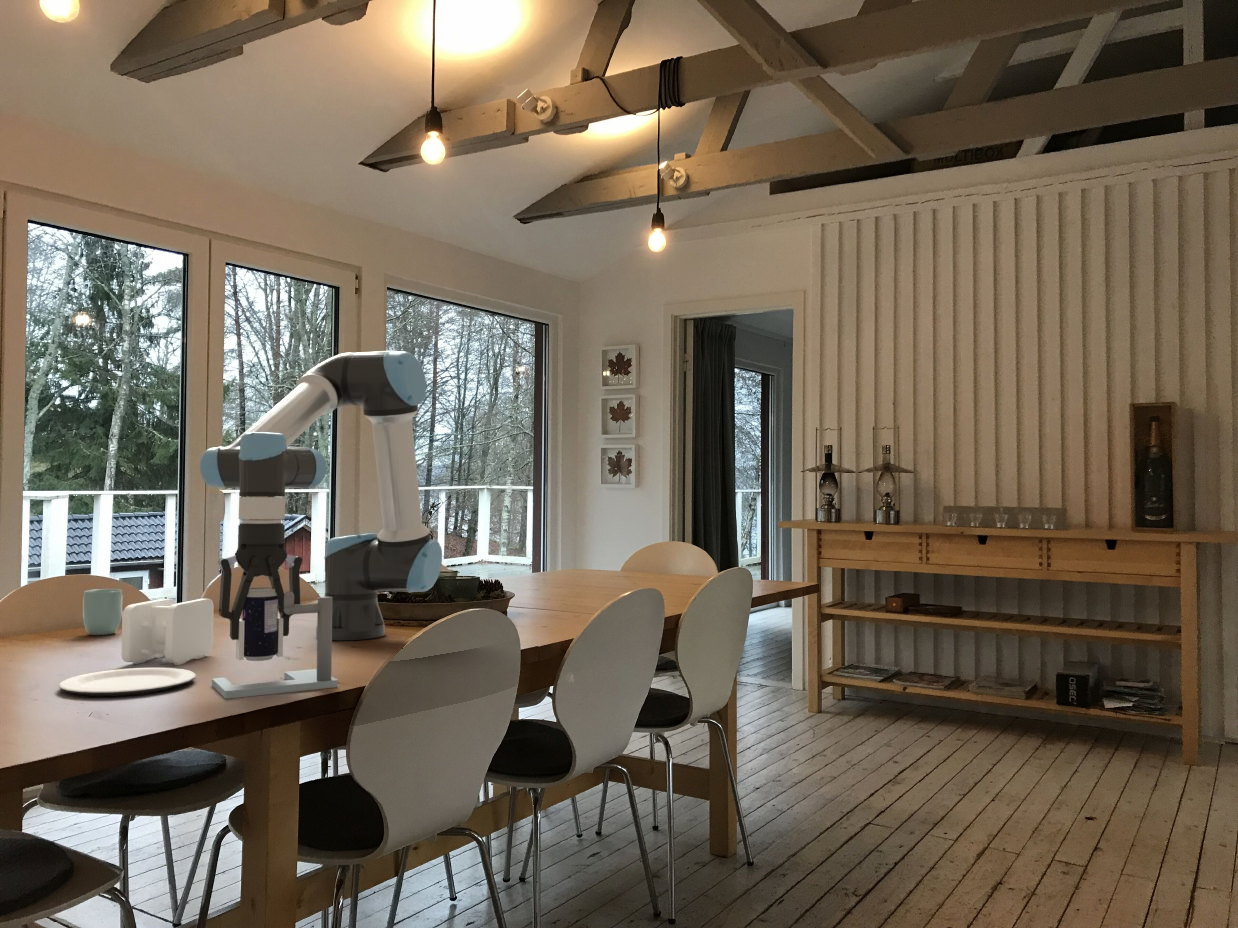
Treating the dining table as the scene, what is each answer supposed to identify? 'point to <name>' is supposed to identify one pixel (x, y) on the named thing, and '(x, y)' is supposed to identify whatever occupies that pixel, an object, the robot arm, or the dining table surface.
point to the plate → (127, 681)
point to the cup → (102, 611)
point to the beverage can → (260, 624)
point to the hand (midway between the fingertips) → (259, 656)
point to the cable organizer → (167, 630)
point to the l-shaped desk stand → (300, 678)
